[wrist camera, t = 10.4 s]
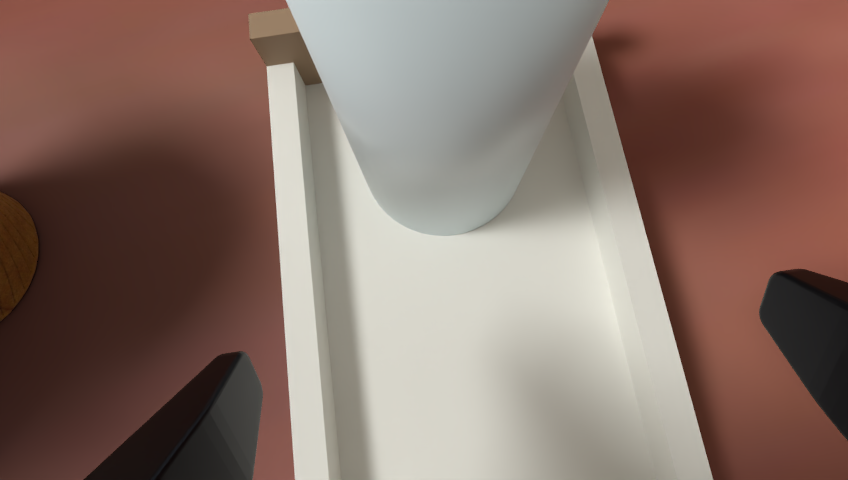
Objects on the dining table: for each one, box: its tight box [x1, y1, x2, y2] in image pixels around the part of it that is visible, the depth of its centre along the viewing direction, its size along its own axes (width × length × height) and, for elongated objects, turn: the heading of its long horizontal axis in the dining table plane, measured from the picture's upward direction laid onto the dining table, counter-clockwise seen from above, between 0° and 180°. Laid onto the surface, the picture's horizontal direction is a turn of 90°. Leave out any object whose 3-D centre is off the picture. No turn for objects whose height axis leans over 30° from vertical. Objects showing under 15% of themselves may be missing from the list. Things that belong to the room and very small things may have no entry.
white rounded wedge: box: [286, 0, 609, 236], centre depth 11 cm, size 6×6×13 cm
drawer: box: [248, 8, 713, 480], centre depth 15 cm, size 20×12×4 cm, turn 8°
